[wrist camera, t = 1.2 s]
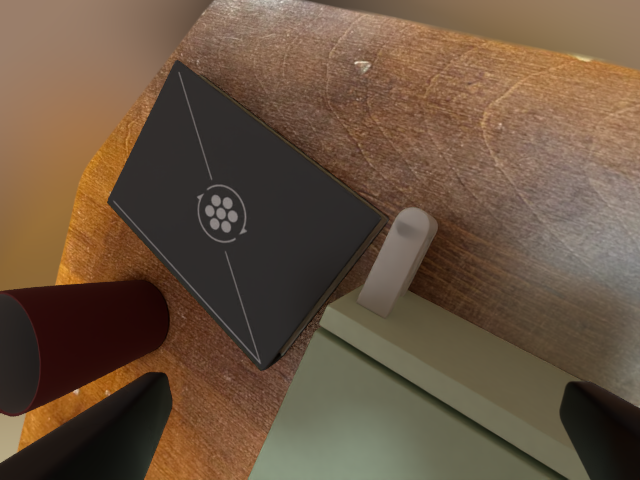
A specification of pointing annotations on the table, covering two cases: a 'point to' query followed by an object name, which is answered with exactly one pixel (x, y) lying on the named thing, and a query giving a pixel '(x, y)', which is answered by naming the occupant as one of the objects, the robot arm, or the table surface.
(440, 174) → the table surface
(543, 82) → the table surface
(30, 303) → the mug
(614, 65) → the table surface
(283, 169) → the book
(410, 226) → the door
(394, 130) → the table surface
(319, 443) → the cupboard
